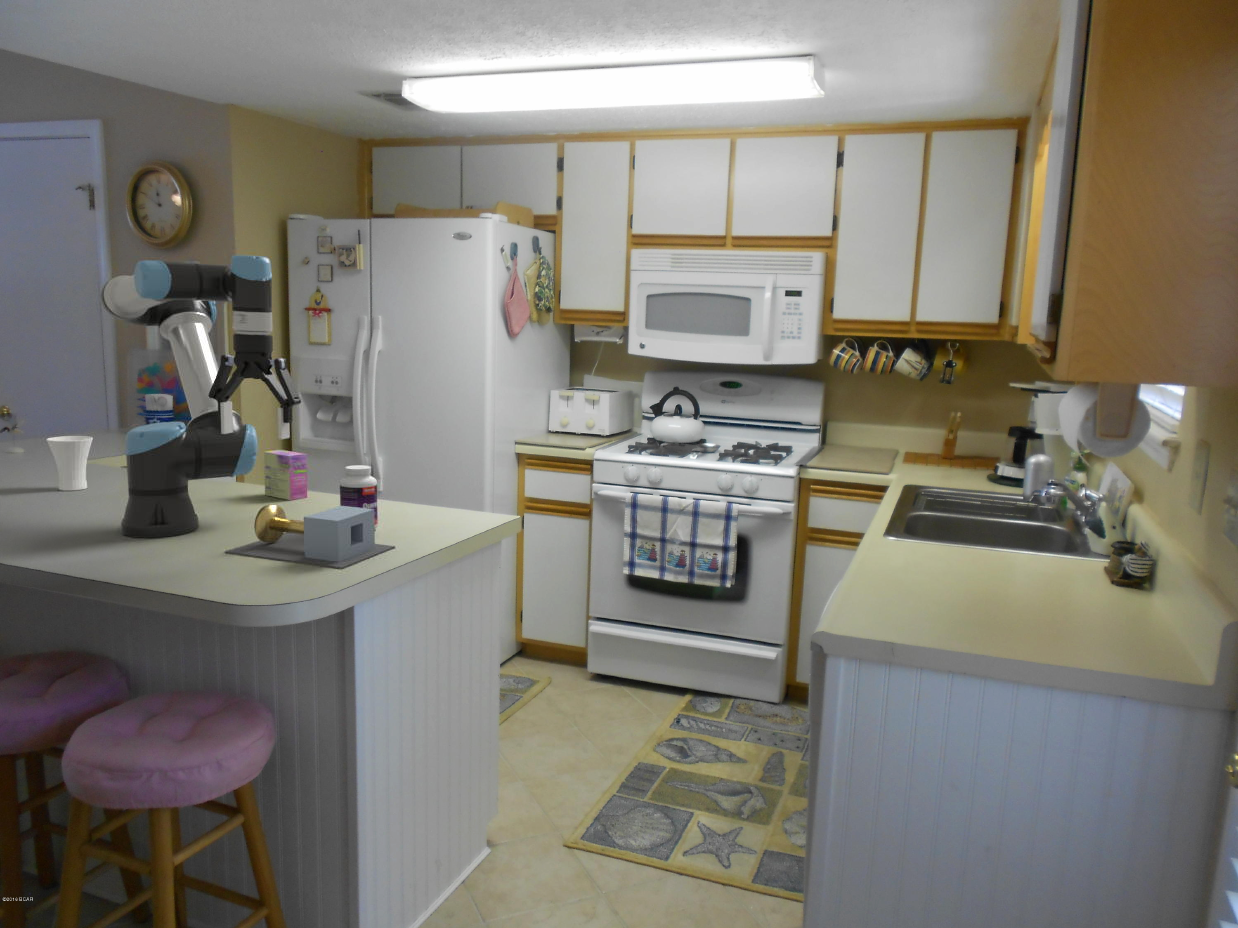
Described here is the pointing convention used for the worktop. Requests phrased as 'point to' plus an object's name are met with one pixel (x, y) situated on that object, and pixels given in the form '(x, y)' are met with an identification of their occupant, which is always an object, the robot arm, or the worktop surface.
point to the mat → (300, 552)
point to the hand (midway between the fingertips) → (255, 435)
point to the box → (285, 474)
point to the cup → (71, 460)
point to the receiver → (339, 533)
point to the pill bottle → (359, 489)
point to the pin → (275, 524)
